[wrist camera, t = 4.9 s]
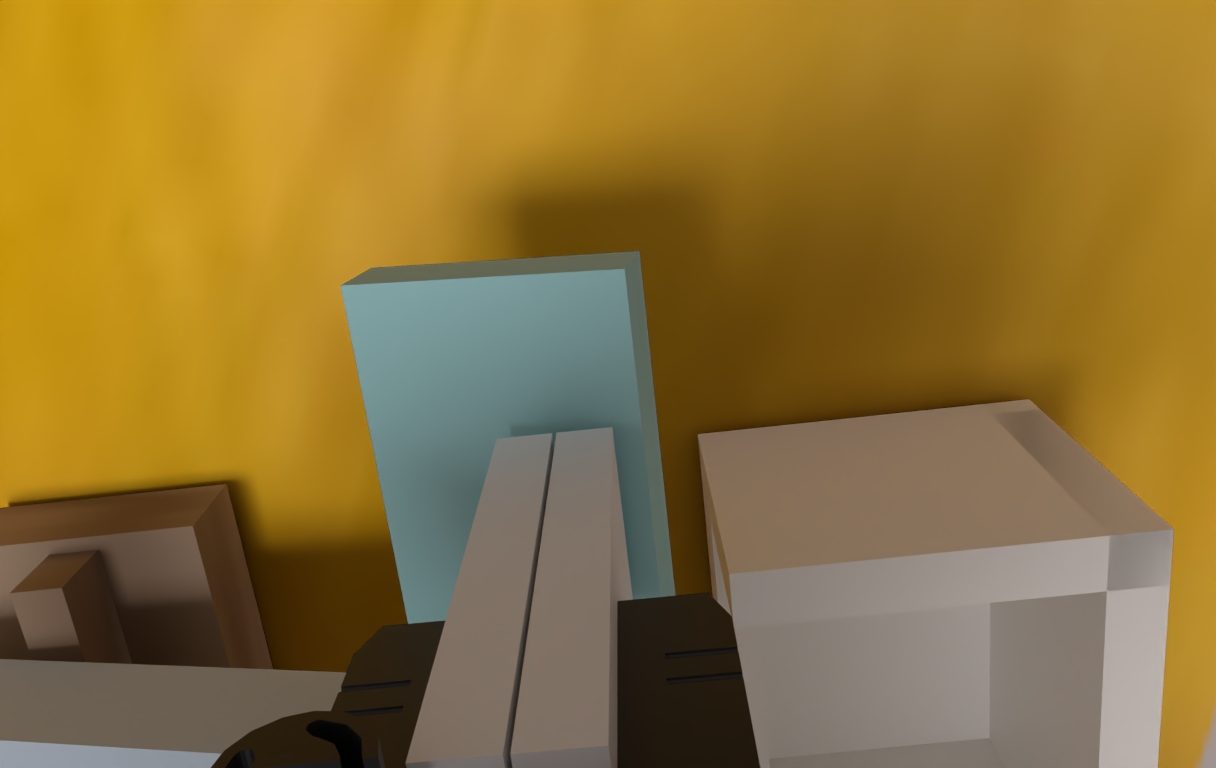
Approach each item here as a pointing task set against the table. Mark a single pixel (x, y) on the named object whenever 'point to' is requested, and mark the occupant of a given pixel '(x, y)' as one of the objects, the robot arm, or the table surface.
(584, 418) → the lever
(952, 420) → the bin
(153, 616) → the brown recessed block
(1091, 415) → the table surface
